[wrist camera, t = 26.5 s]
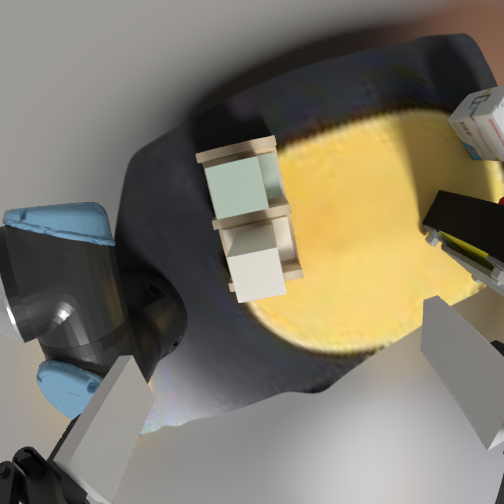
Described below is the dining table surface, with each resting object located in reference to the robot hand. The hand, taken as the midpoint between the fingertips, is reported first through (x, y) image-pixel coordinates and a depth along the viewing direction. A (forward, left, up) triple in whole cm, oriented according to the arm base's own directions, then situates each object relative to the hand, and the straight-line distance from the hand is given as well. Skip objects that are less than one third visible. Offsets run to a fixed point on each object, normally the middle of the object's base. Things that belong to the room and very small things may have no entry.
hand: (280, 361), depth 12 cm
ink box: (+37, +10, -31) cm, 49 cm away
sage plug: (-2, +6, -30) cm, 30 cm away
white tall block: (-2, -3, -30) cm, 30 cm away
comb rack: (-2, +2, -30) cm, 31 cm away
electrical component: (+32, -8, -31) cm, 45 cm away
